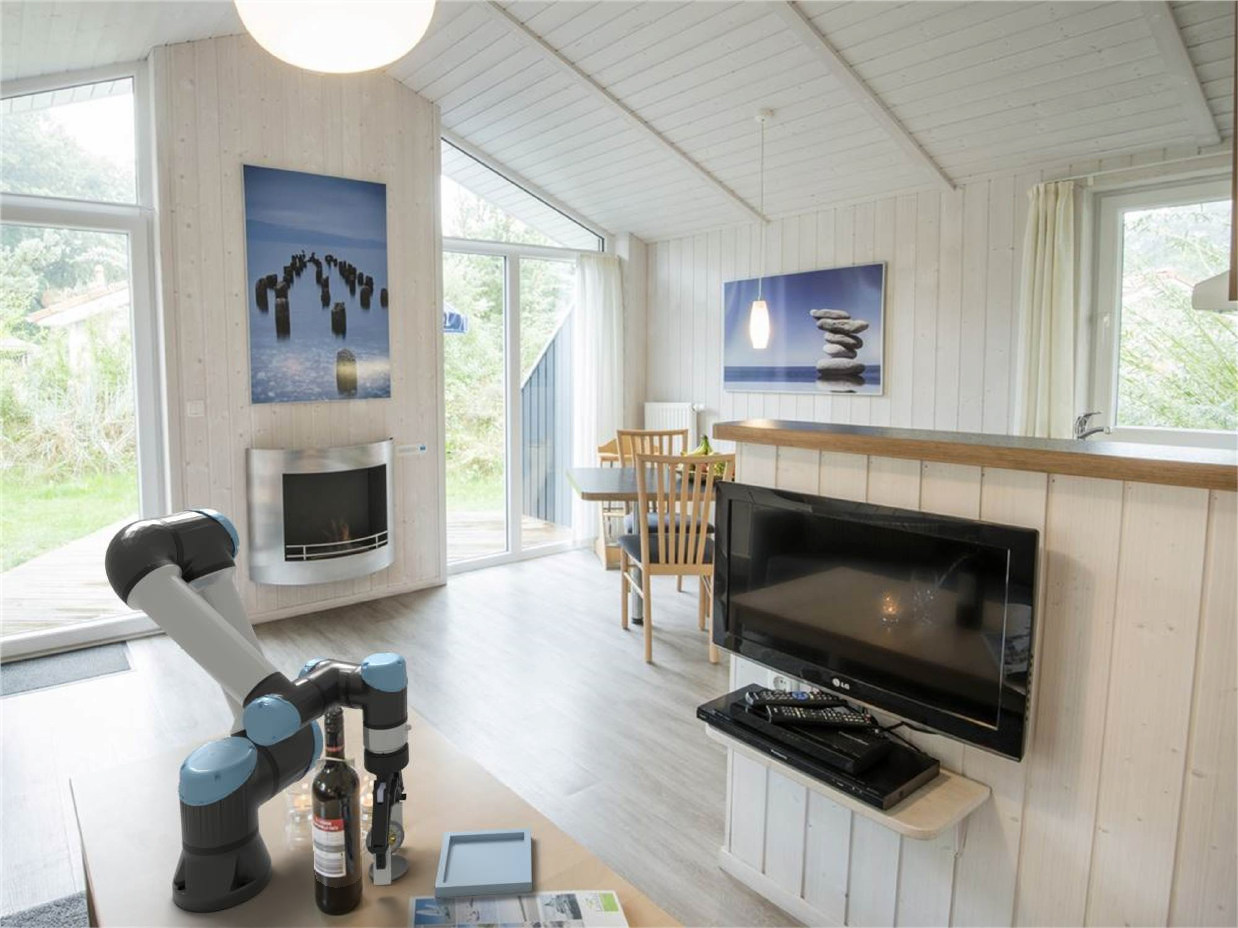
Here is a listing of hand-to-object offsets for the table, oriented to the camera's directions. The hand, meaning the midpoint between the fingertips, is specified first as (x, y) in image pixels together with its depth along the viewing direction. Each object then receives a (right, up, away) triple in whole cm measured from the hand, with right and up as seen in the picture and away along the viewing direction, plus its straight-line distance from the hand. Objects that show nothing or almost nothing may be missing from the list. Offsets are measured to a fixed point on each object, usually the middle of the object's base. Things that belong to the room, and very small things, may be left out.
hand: (389, 858), depth 142 cm
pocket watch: (0, -2, 0) cm, 2 cm away
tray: (+17, -2, +1) cm, 17 cm away
